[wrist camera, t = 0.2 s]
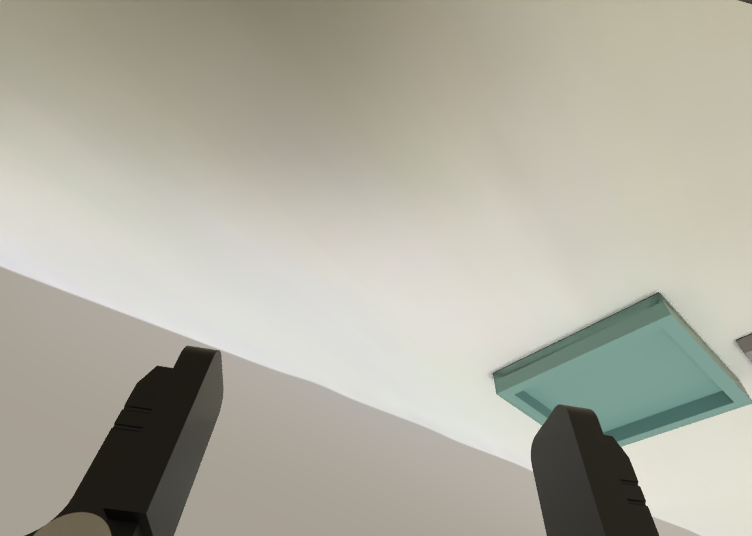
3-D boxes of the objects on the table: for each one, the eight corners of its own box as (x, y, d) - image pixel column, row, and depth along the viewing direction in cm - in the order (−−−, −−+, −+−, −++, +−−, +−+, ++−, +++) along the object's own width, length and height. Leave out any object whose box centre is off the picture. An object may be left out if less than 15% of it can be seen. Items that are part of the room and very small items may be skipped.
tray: (493, 373, 40) (496, 394, 38) (659, 292, 32) (670, 314, 31) (583, 437, 45) (588, 457, 44) (740, 381, 38) (753, 403, 37)
